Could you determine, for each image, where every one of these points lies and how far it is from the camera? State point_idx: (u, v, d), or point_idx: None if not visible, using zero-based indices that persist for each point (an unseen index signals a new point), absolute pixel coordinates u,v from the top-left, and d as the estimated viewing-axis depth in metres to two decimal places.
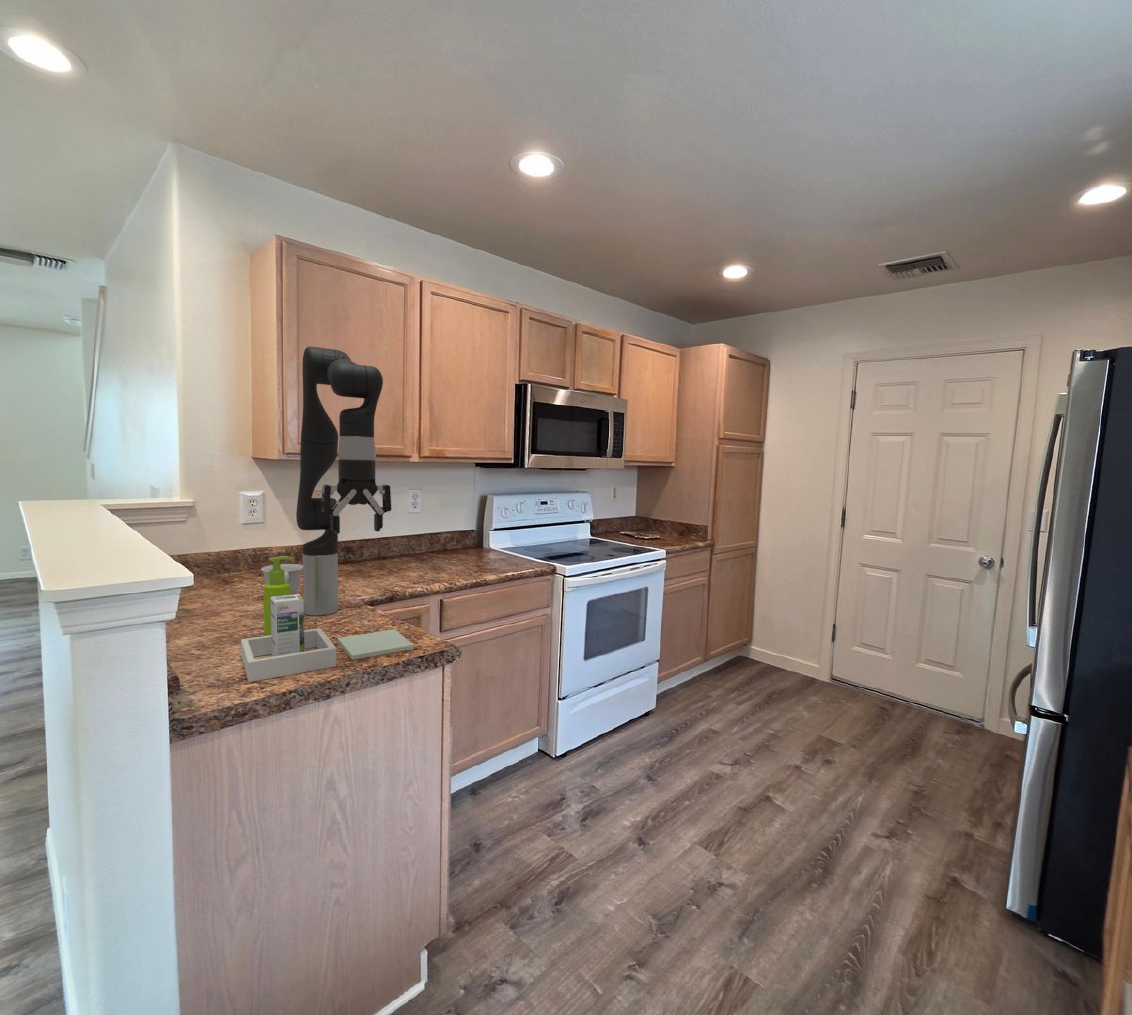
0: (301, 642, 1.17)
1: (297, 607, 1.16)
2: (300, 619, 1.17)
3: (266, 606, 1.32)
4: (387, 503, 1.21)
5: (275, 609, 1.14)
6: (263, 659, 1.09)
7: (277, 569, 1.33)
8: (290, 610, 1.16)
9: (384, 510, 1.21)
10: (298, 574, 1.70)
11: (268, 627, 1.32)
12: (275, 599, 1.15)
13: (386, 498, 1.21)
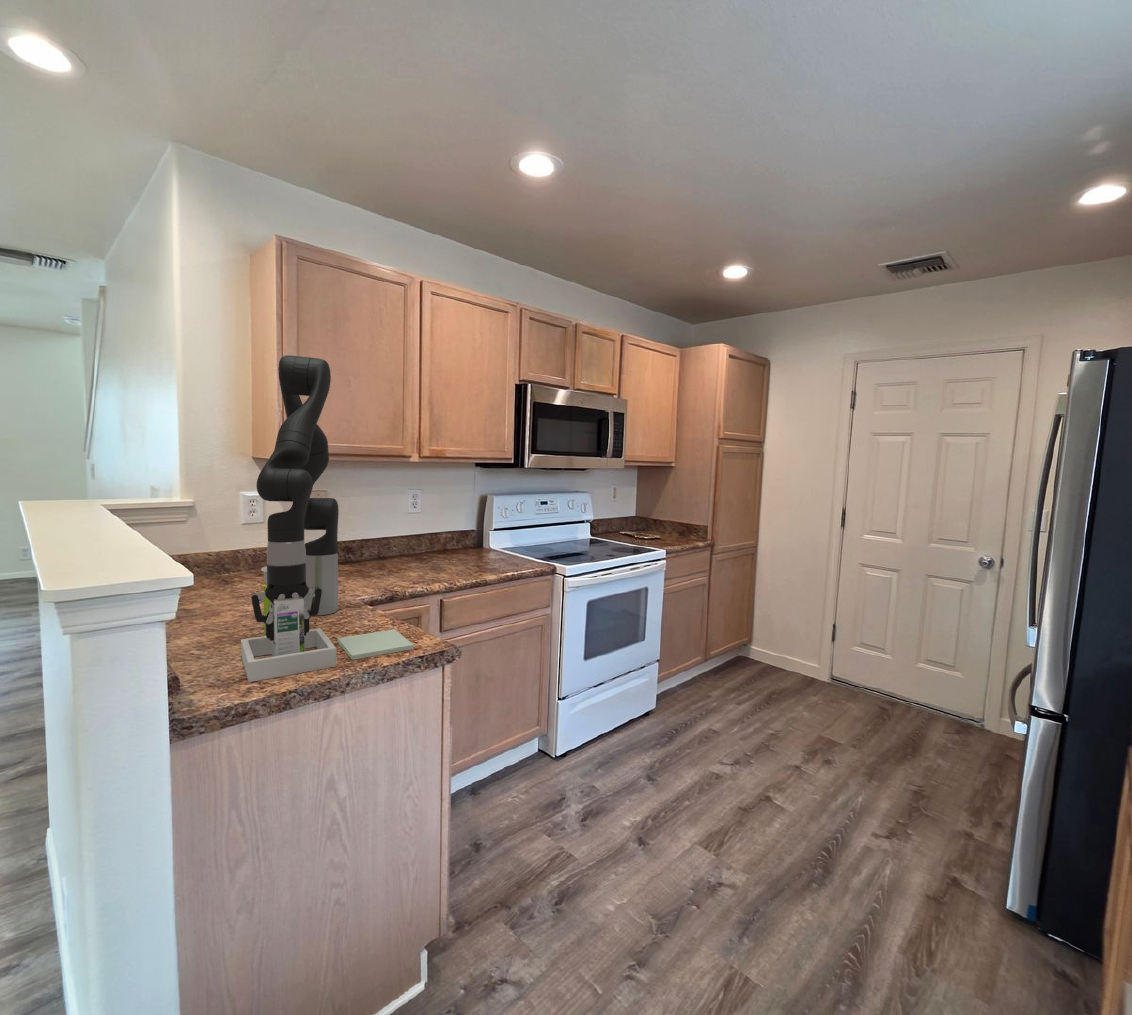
0: (301, 642, 1.17)
1: (297, 607, 1.16)
2: (300, 619, 1.17)
3: (266, 606, 1.32)
4: (315, 607, 1.20)
5: (275, 609, 1.14)
6: (263, 659, 1.09)
7: None
8: (290, 610, 1.16)
9: (311, 614, 1.20)
10: None
11: None
12: (275, 599, 1.15)
13: (315, 601, 1.20)
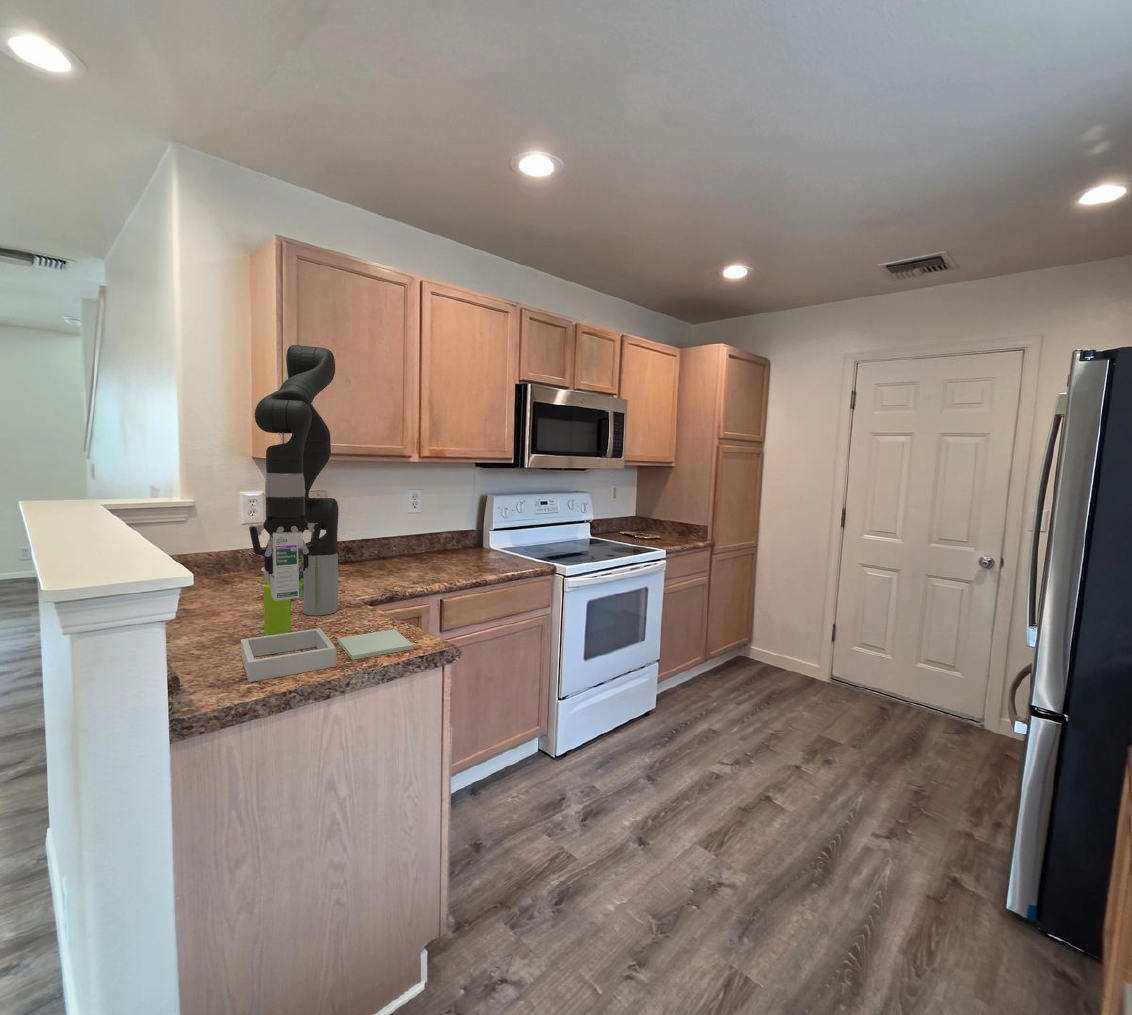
0: (300, 577, 1.16)
1: (296, 541, 1.15)
2: (299, 553, 1.16)
3: (266, 606, 1.32)
4: (314, 542, 1.19)
5: (274, 541, 1.13)
6: (263, 659, 1.09)
7: None
8: (289, 543, 1.14)
9: (310, 549, 1.19)
10: None
11: (268, 627, 1.32)
12: (274, 532, 1.14)
13: (314, 536, 1.19)
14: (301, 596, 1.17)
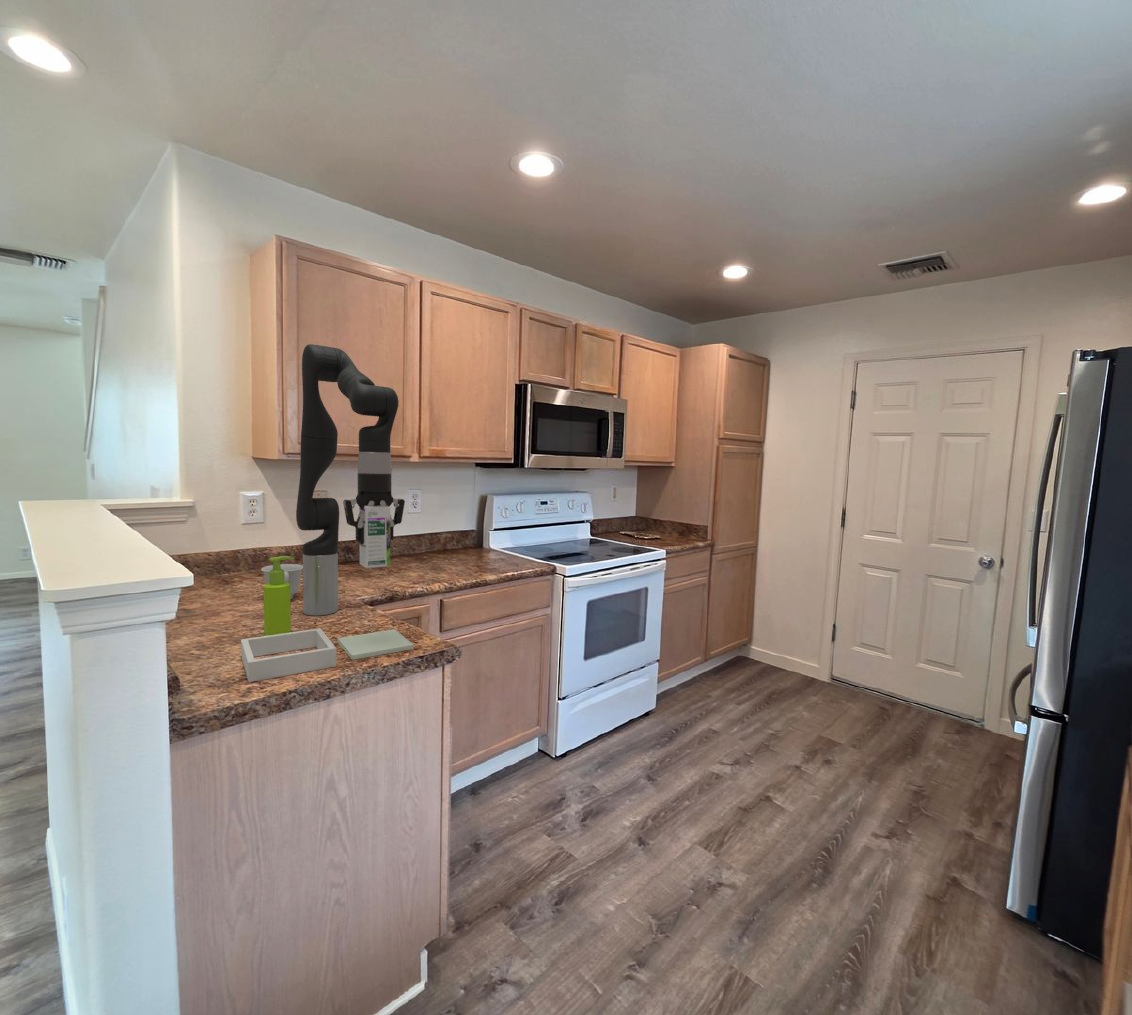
0: (388, 547, 1.27)
1: (385, 514, 1.26)
2: (387, 525, 1.27)
3: (266, 606, 1.32)
4: (398, 516, 1.30)
5: (366, 514, 1.24)
6: (263, 659, 1.09)
7: (277, 569, 1.33)
8: (379, 516, 1.26)
9: (395, 522, 1.30)
10: (298, 574, 1.70)
11: (268, 627, 1.32)
12: None
13: (399, 511, 1.30)
14: (388, 564, 1.28)
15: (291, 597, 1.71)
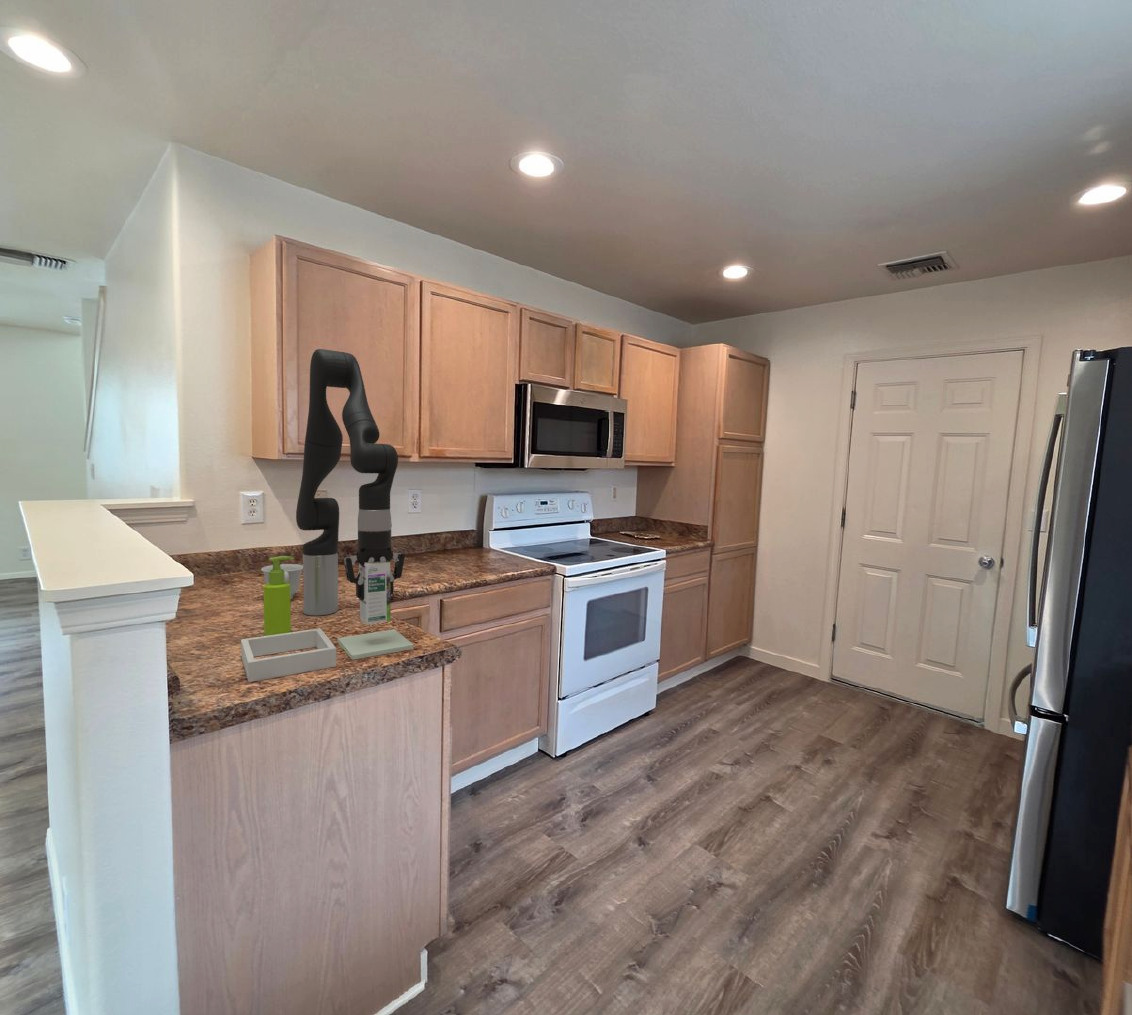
0: (388, 602, 1.28)
1: (385, 570, 1.28)
2: (387, 581, 1.28)
3: (266, 606, 1.32)
4: (398, 570, 1.31)
5: (366, 571, 1.25)
6: (263, 659, 1.09)
7: (277, 569, 1.33)
8: (379, 572, 1.27)
9: (395, 577, 1.31)
10: (298, 574, 1.70)
11: (268, 627, 1.32)
12: (365, 562, 1.26)
13: (399, 565, 1.31)
14: (388, 620, 1.29)
15: (291, 597, 1.71)
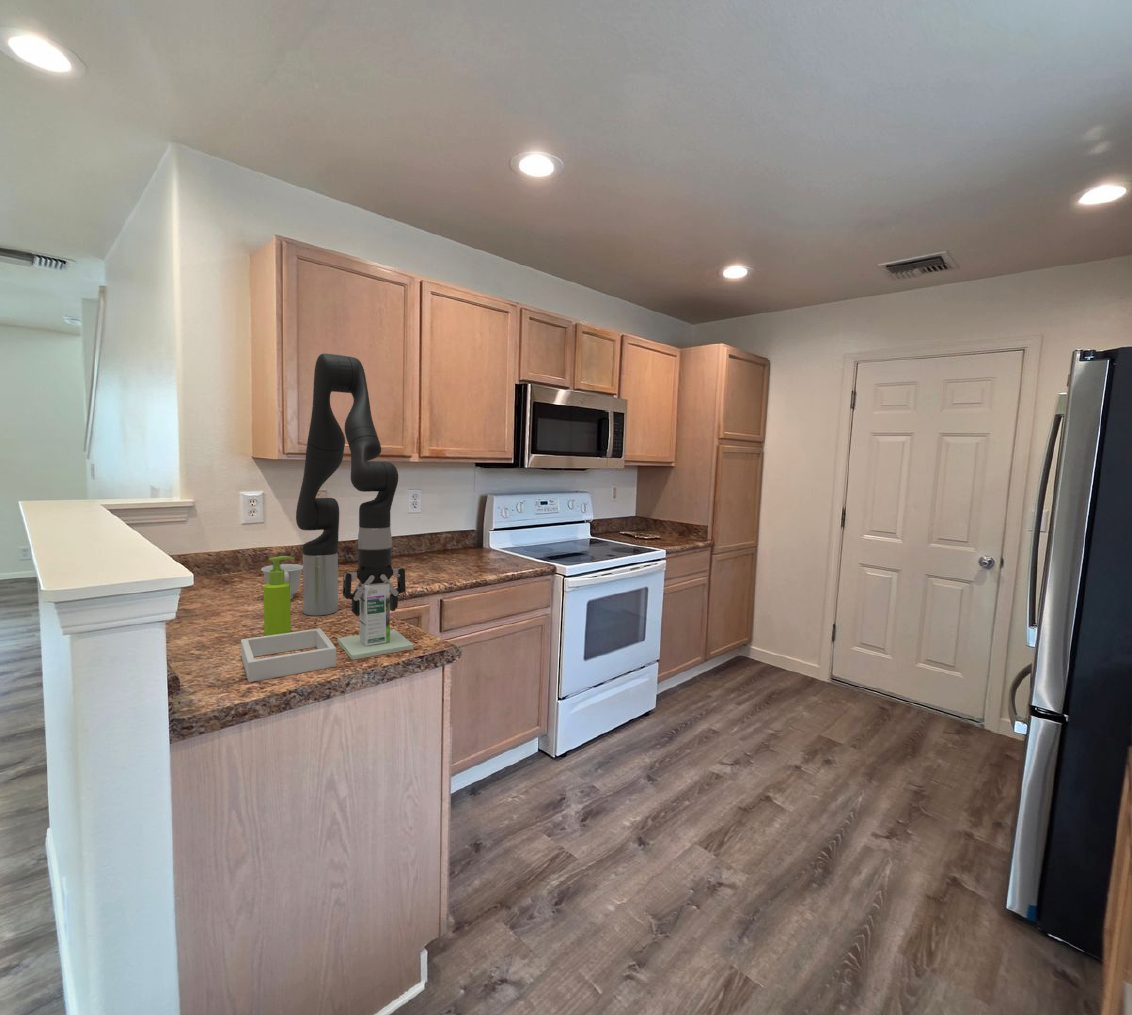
0: (387, 623, 1.29)
1: (384, 591, 1.28)
2: (386, 603, 1.28)
3: (266, 606, 1.32)
4: (402, 585, 1.32)
5: (366, 593, 1.26)
6: (263, 659, 1.09)
7: (277, 569, 1.33)
8: (378, 594, 1.27)
9: (399, 591, 1.32)
10: (298, 574, 1.70)
11: (268, 627, 1.32)
12: None
13: (401, 580, 1.32)
14: (388, 641, 1.29)
15: (291, 597, 1.71)
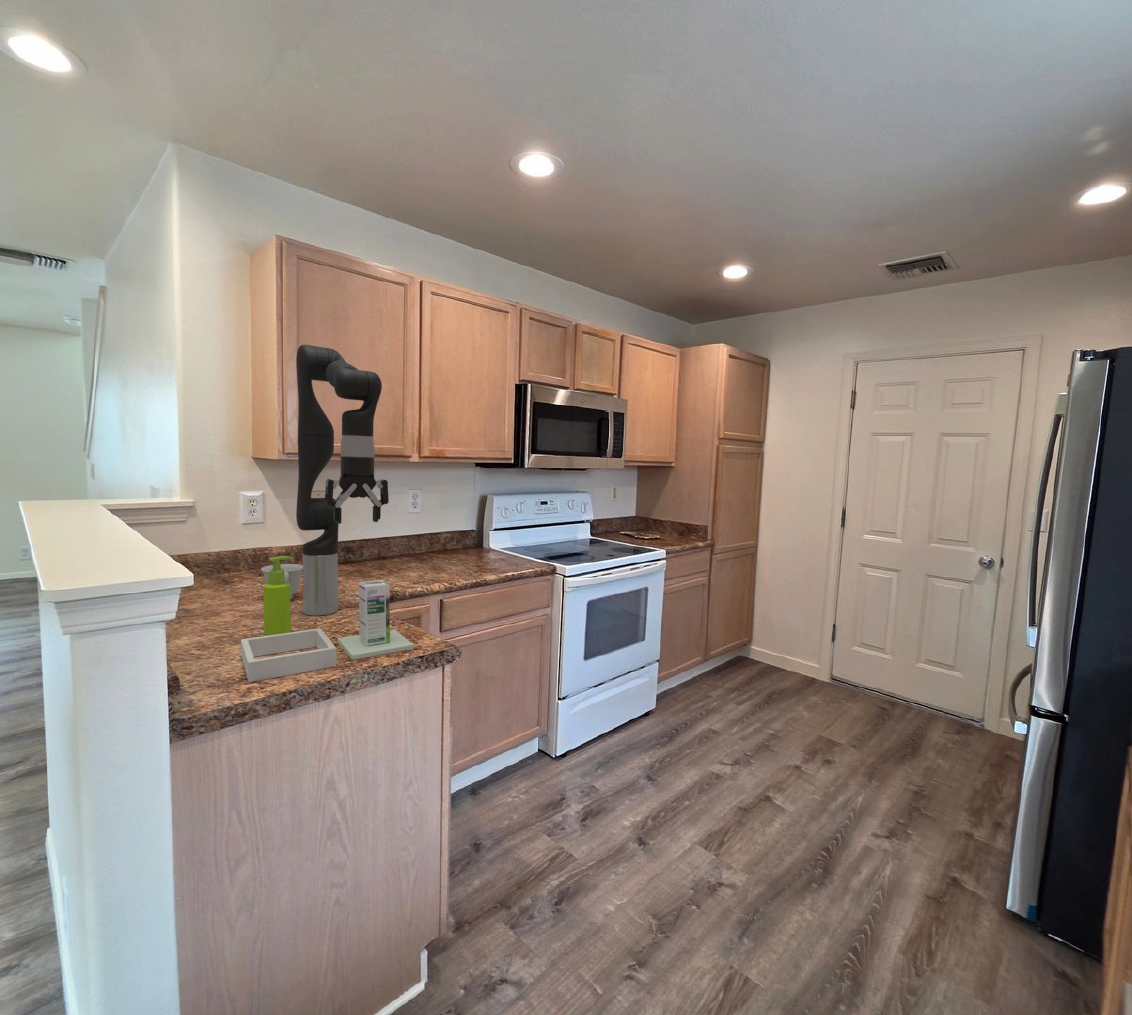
0: (387, 624, 1.29)
1: (384, 591, 1.28)
2: (386, 603, 1.28)
3: (266, 606, 1.32)
4: (385, 496, 1.33)
5: (366, 593, 1.26)
6: (263, 659, 1.09)
7: (277, 569, 1.33)
8: (378, 594, 1.27)
9: (382, 503, 1.33)
10: (298, 574, 1.70)
11: (268, 627, 1.32)
12: (365, 584, 1.27)
13: (384, 491, 1.32)
14: (388, 641, 1.29)
15: (291, 597, 1.71)
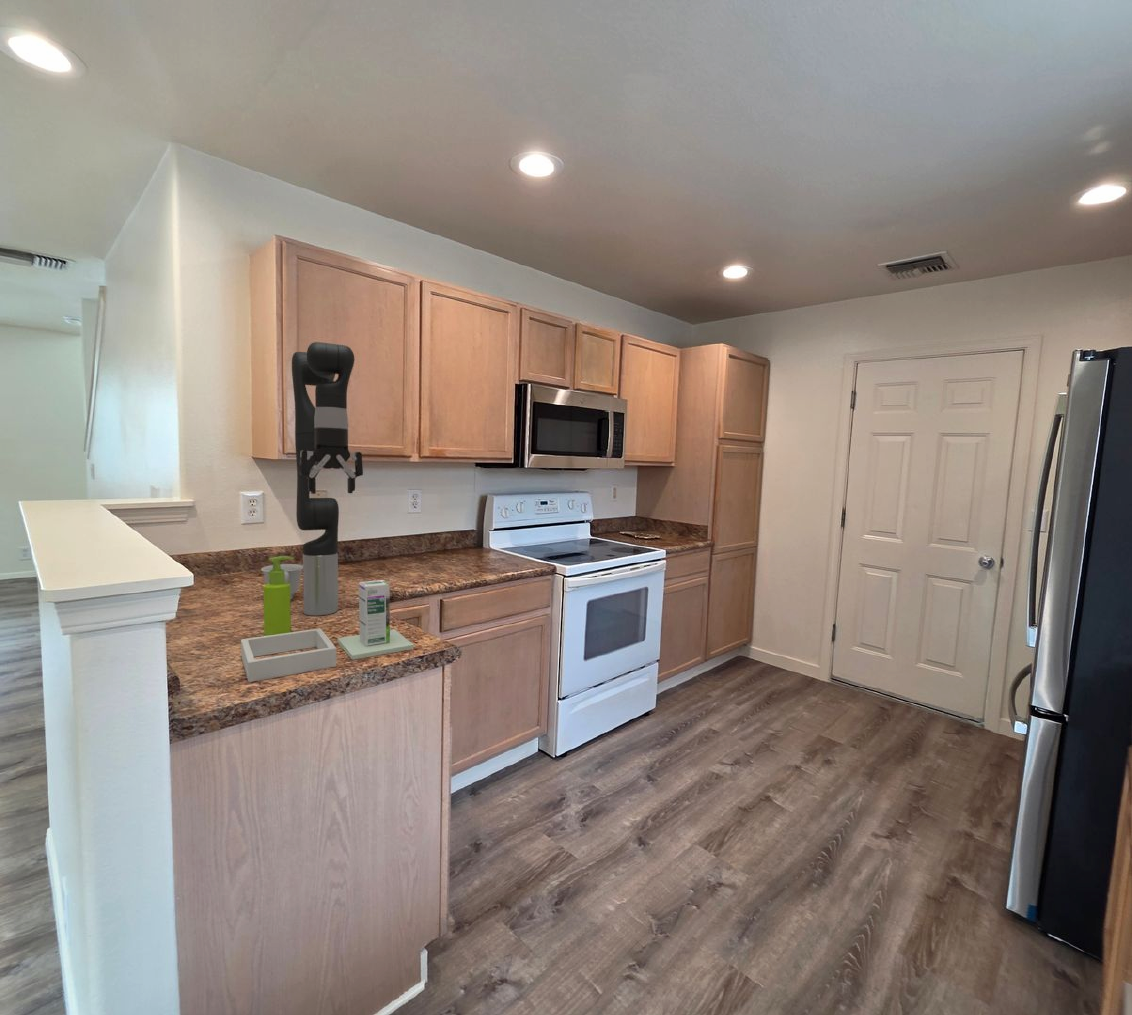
0: (387, 624, 1.29)
1: (384, 591, 1.28)
2: (386, 603, 1.28)
3: (266, 606, 1.32)
4: (359, 468, 1.35)
5: (366, 593, 1.26)
6: (263, 659, 1.09)
7: (277, 569, 1.33)
8: (378, 594, 1.27)
9: (356, 474, 1.36)
10: (298, 574, 1.70)
11: (268, 627, 1.32)
12: (365, 584, 1.27)
13: (358, 463, 1.35)
14: (388, 641, 1.29)
15: (291, 597, 1.71)
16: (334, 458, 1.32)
